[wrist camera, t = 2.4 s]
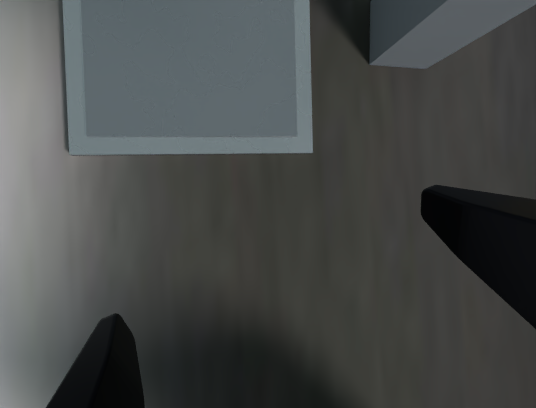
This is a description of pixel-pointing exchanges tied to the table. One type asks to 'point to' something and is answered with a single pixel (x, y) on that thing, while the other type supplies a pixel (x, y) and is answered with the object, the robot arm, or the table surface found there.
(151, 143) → the case
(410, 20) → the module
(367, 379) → the table surface
